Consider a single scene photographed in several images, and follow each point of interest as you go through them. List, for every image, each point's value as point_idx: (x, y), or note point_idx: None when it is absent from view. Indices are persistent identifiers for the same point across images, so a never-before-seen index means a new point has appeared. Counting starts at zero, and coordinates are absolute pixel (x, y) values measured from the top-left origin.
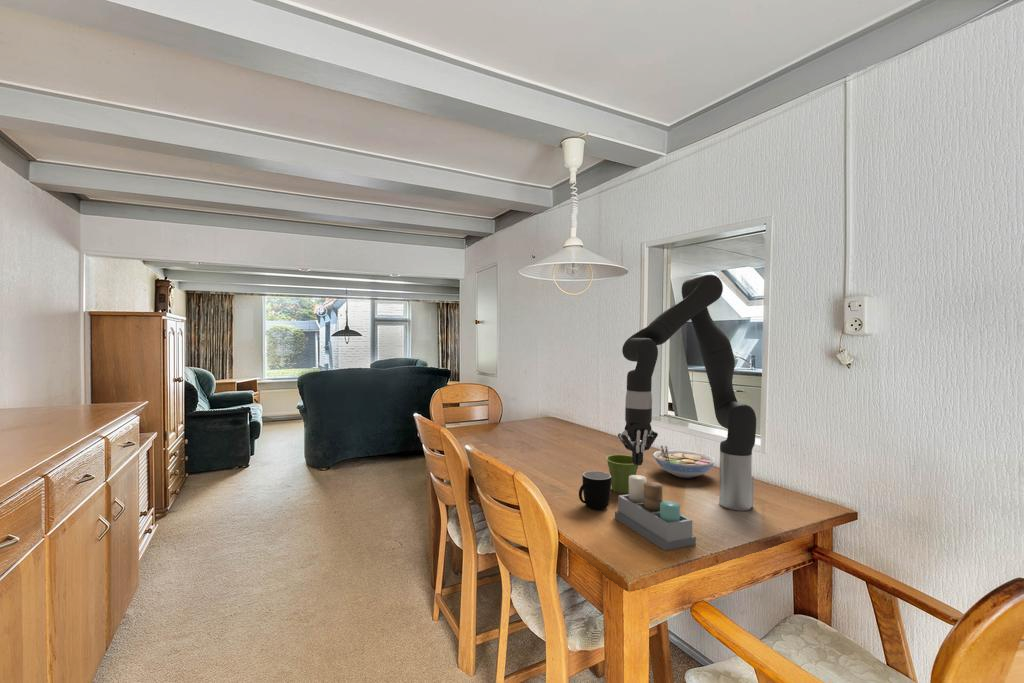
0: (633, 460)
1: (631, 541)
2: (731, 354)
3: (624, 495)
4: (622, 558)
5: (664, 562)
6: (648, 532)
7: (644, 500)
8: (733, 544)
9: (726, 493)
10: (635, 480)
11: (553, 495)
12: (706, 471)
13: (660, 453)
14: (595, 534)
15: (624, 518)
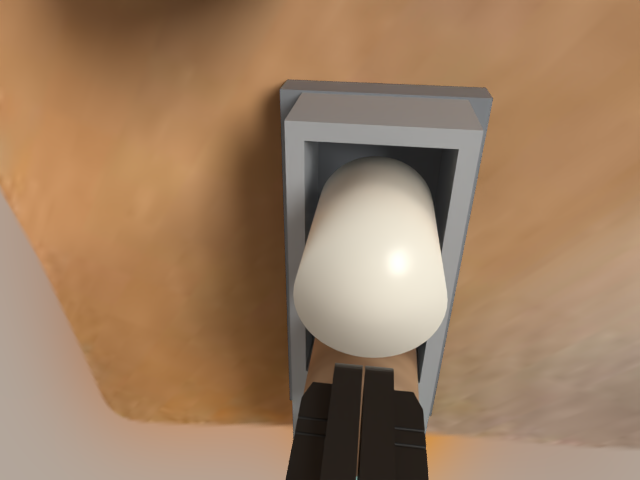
0: (307, 417)
1: (225, 296)
2: None
3: (329, 134)
4: (138, 358)
5: (248, 414)
6: (288, 332)
7: (312, 349)
8: (551, 437)
9: None
10: (311, 329)
11: None
12: None
13: None
14: (111, 199)
15: (283, 178)
